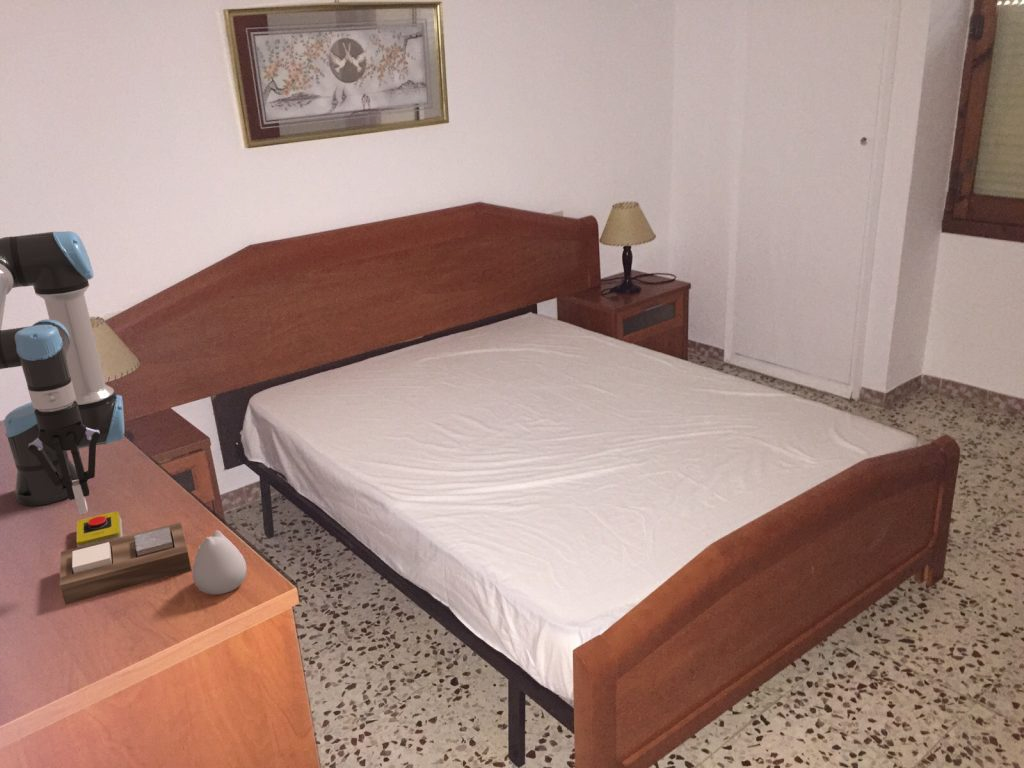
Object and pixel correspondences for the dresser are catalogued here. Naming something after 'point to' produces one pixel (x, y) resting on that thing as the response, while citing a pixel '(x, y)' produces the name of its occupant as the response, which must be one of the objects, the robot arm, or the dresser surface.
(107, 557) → the cream key
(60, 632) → the dresser surface
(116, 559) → the brown wooden flat block
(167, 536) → the steel key
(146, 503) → the dresser surface
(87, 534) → the emergency button
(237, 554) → the toy character
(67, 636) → the dresser surface
